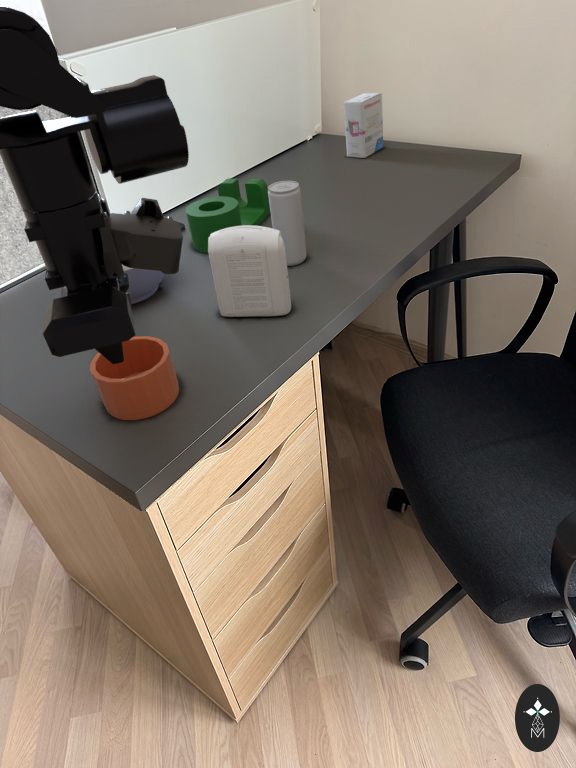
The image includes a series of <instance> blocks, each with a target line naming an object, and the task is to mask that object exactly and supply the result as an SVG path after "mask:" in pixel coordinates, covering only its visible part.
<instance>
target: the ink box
mask: <svg viewBox="0 0 576 768" xmlns="http://www.w3.org/2000/svg"><path fill="white" fill-rule="evenodd" d="M343 111H344V114H343V115H344V126H345V127H344V128H345V142H346V144H345V145H346V157H350V158H358V159H359V158H360V159H365V158H367V157H369V156H371V155H373V154H374V153H376V152H378V151H380V150H381V149H383V148H384V123H383V121H384V120H383V119H384V118H383V93H381V92H364V93H361V94H359V95H357V96H354V97H352V98H349V99H348V100H345V101H343Z"/></svg>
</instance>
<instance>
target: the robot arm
mask: <svg viewBox="0 0 576 768" xmlns="http://www.w3.org/2000/svg"><path fill="white" fill-rule="evenodd" d="M40 106H44V107H47V108H49V109H50V110H51V109H52V110H54V111H56V112H59V113H61V114H63V115H66V116H69V117H63V118H57V119H52V120H51V119H50V120H44V121H43V120H42V118H41V115H39V113H38V111H37V110H32V109H36V108H39V107H40ZM0 107H2V108H6V109H9V110H15V111H25V110H31V111H26V112H21V113H17V114H12V115H8V116H3V117H0V158H1V161H2V163H3V165H4V167H5V170H6V173H7V175H8V178H9V180H10V182H11V185H12V187H13V190H14V192H15V195H16V197H17V199H18V202H19V204H20V207H21V209H22V212H23V214H24V217H25V219H26V220H25V221H26V222H25V225H24V229H23V231H24V232H25V235H26V238H27V240H28V243H32V242H35V245H36V246H37V249H38V251H39V253H40V254H39V255H40V256H41V259H42V262H43V263H44V266H45V268H46V269H45V274H44V281H45V283H46V286H47V288H48V289H49V291H52V290H56V289H61V291H60V297H57V298H53V299H52V301H51V303H50V304H49V306H48V307H47V309H46V311H45V315H44V322H43V328H42V329H43V330H42V337H43V339H44V341H45V343H46V344H47V347H48V349H49V352H50V353H51V355H52V356H54V357H58V358H62V357H65V356H70V355H74V354H78V353H82V352H83V353H84V352H87V351H90V350H95V351H96V352H97V353H100V354H101V355H103V356H104V357H105V358H106V359H107V360H108V361H110V362H111V363H112V364H118V363H122V362H124V353H123V344H122V342H125V341H129V340H130V339H131V338H132V337H136V328H135V320H134V315H133V312H132V307H133V306H132V305H133V304H131V296H130V293H126V292H127V290H128V288H129V279H128V274H127V273H124V270H123V266H122V265H124V266H126V267H129V268H135V269H145V270H155V271H161V272H162V273H164V274H165V275H175V274H178V273H179V271H180V264H181V263H180V262H181V255H182V248H183V243H184V242H183V240H184V235H183V232H182V229H181V226H180V224H179V222H177V221H176V220H174V218H173V216H170V215H169V216H167V218H166V217H164V214H163V212H162V209H161V206H160V204H159V201H158V200H157V199H154V198H148V197H147V198H146V197H140V198H139V200H138V201H137V203H136V205H135V206H134V207H133V209H132V211H130V210H125V211H124V213H125V214H121V213H116V212H115V213H114V212H111V211H110V209H109V205H108V202H107V199H106V198H102V195H101V194H99V193H98V190H97V188H96V184H95V181H94V178H93V174H92V172H91V169H90V165H89V162H88V159H87V156H86V153H85V150H84V149H85V148H84V146H83V143H82V140H81V137H80V135H79V132H82V131H84V135H85V139H86V142H87V145H88V148H89V152H90V154H91V158H92V160H93V162H94V164H95V166H96V168H97V171H98V172H99V174H100V175H104V174H108V173H109V172H110V173H111V175H112V177H113V178H114V179H115V181H116V182H117V183H118V185H119V184H120V185H121V184H126V183H128V182H132V181H136V180H141V179H144V178H148V177H151V176H155V175H159V174H163V173H168V172H171V171H174V170H178V169H183V168H187V166H188V164H189V157H190V156H189V155H190V152H189V144H188V138H187V134H186V130H185V127H184V125H182V124H181V122H180V121H181V120H180V118H179V116H178V112H177V109H176V107H175V105H174V103H173V101H172V99H171V98H170V96H169V94H168V91H167V86H166V81H165V79H164V78H162V77H161V76H157V75H155V74H154V75H153V74H152V75H147V76H143V77H139V78H137V79H136V80H134V81H132V82H128V83H124V84H117V85H115V86H109V87H105V88H100V89H95V90H91V89H90V85H89V84H88V83H87V82H85V81H84V80H82V79H80V78H79V77H77V76H75V75H73V74H72V73H70V71H68V70H67V69H66V67H64V66H62V64H61V63H60V58H59V54H58V50H57V48H56V46H55V43H54V41H53V40H52V38H51V36H50V34H49V33H48V32H47V30H45V28H44V27H43V26H42V25H41V24H40V23H39V22H38V21H37V19H35V18H34V17H33V16H30V15H29V14H27V13H25V12H24V11H21V10H18V9H15V8H11V7H9V6H4V5H0ZM130 213H131V214H130Z"/></svg>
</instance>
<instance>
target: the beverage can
mask: <svg viewBox="0 0 576 768" xmlns="http://www.w3.org/2000/svg"><path fill="white" fill-rule="evenodd" d="M267 189H268V197H269V204H270V212H271V213H270V219H271V225H272V227H271V228H273V229H276V230H279V231H280V232H281V235H282V239H283V241H284V245H285V252H286V261H287V267H289V266H290V267H293V266H297V265H300V264H302V263H304V261H305V260H306V258H307V247H306V246H307V245H306V236H305V225H304V224H305V223H304V213H303V202H302V193H301V188H300V184H299V182H298V181H295V180H279V181H276V182H273V183H271V184H270V185H268V186H267Z"/></svg>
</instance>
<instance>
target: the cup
mask: <svg viewBox="0 0 576 768" xmlns="http://www.w3.org/2000/svg"><path fill="white" fill-rule="evenodd" d="M122 344H123V353H124V362H122V363H118V364H112V363H111V362H110V361H108V360H107V359H106V358H105V357H104V356H103V355H101V354H100V353H99V352H97V353H96V354H95V356H94V357H93V359H92V360H91V362H90V367H89V368H90V371H89V372H90V374H91V377H92V380H93V382H94V385H95V387H96V389H97V392H98V394H99V397H100V399H101V401H102V404H103V405H104V407H105V410H106V412H107V413H108V414H109V415H110V416H112V417H113V418H115V419H118V420H122V421H139V420H144V419H147V418H150V417H154V416H156V415H158V414H160V413H162V412H163V411H165V410H167V409H168V408H169V407H170V406H171V405H172V404H173V403H174V402H175V401H176V399H177V398H178V396H179V394H180V383H179V380H178V377H177V373H176V369H175V365H174V362H173V358H172V355H171V352H170V349H169V345H168V343H166V342H165V341H164V340H162V339H161V338H158V337H154V336H150V335H144V336H143V335H142V336H141V335H139V336H137V335H136V336H134V337H132V338H131V339H130V340H129V341H125V342H122Z"/></svg>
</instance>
